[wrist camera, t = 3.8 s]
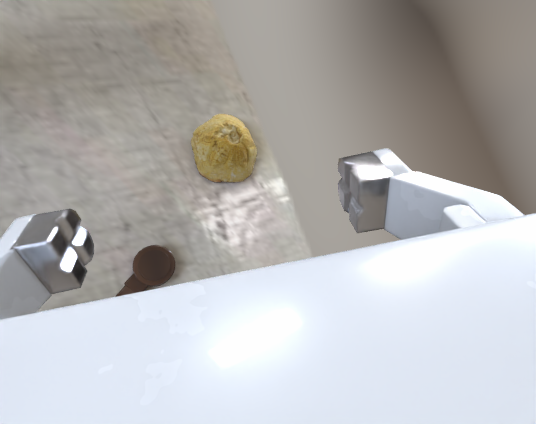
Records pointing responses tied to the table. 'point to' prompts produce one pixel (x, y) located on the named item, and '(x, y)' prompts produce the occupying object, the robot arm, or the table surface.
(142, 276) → the spoon
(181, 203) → the table surface
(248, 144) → the fossil
